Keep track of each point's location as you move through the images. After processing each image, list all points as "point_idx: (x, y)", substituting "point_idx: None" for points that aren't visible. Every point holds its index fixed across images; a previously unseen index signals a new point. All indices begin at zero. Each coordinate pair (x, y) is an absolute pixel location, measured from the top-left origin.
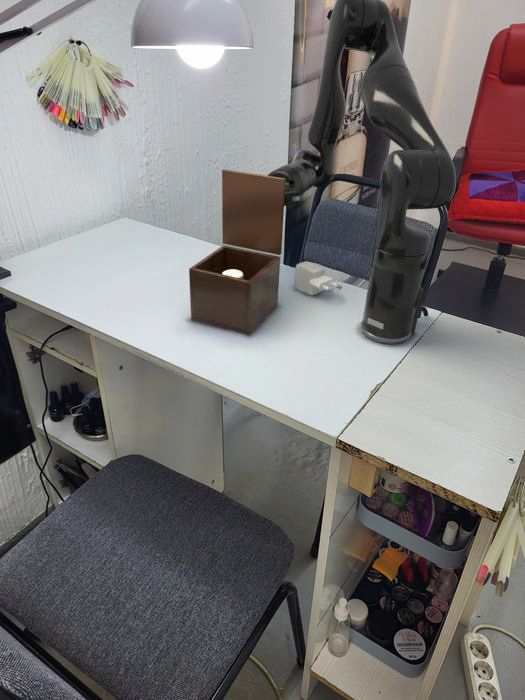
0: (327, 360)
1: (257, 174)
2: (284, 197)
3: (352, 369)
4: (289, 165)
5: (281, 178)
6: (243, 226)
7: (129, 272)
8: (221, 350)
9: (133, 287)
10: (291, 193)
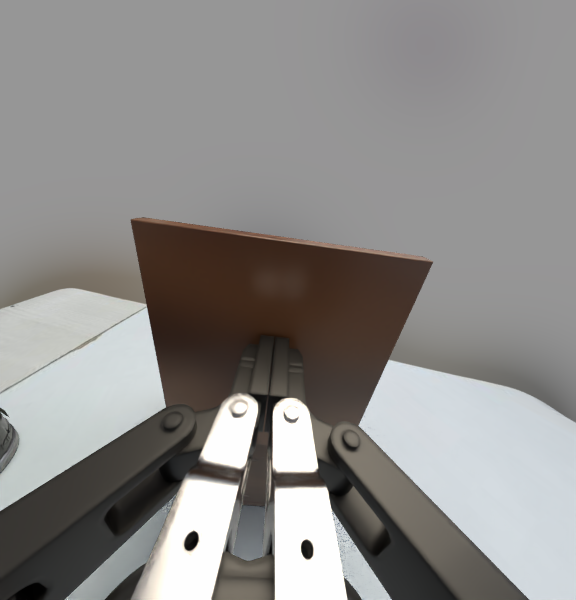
0: (127, 368)
1: (269, 237)
2: (145, 295)
3: (99, 361)
4: None
5: (152, 219)
6: None
7: (533, 518)
8: None
9: (447, 452)
10: (6, 508)
